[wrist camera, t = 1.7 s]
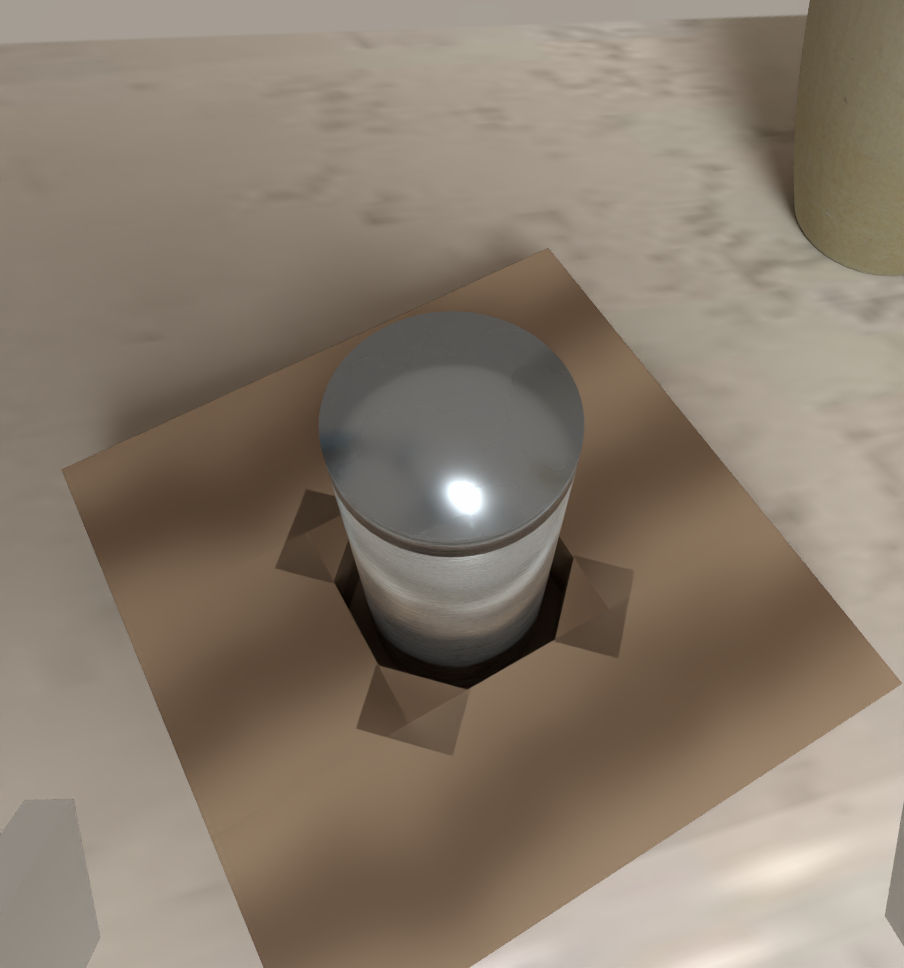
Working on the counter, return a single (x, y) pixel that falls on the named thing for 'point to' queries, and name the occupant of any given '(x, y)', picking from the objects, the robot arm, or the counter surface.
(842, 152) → the plant pot
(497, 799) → the walnut socket block
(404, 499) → the silver capped jar
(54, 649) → the counter surface
